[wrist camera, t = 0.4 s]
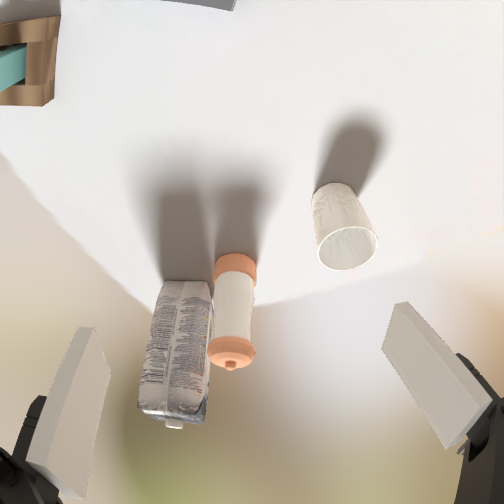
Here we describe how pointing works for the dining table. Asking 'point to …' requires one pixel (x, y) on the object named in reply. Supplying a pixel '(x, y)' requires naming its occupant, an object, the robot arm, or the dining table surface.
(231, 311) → the pepper shaker
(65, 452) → the robot arm
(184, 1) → the port
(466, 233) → the dining table surface
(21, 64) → the plug
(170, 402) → the juice carton
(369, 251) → the white cup
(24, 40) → the holster
